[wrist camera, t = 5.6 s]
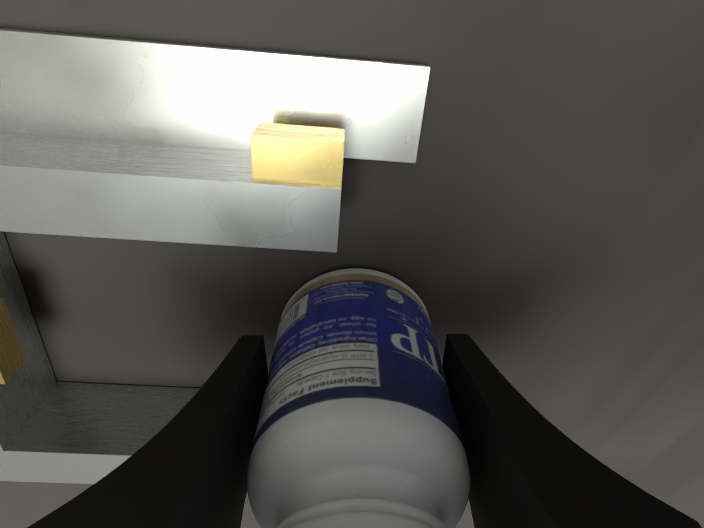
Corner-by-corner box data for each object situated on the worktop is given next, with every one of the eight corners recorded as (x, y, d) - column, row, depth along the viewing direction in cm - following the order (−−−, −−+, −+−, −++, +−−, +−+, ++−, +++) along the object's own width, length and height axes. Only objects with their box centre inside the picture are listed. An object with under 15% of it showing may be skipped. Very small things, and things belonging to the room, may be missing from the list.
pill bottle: (448, 354, 16) (541, 667, 9) (321, 397, 17) (301, 709, 10) (396, 238, 14) (459, 531, 6) (251, 296, 15) (149, 609, 7)
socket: (426, 64, 11) (450, 81, 9) (366, 461, 19) (369, 531, 17) (-277, 3, 10) (-484, 2, 8) (-32, 445, 18) (-94, 517, 16)
